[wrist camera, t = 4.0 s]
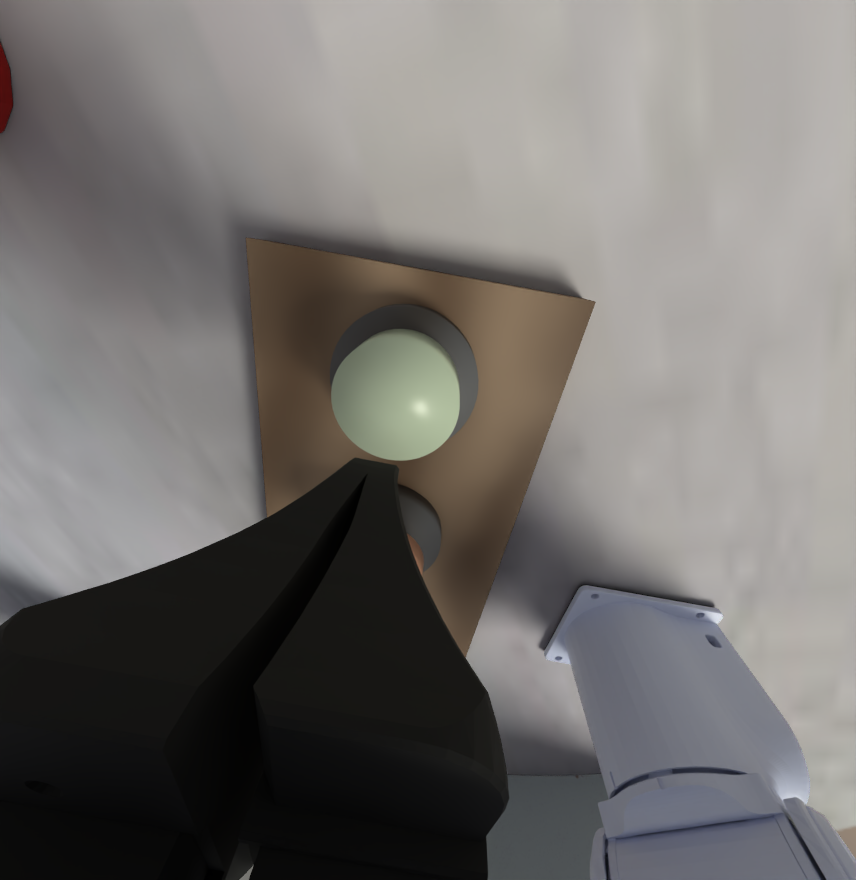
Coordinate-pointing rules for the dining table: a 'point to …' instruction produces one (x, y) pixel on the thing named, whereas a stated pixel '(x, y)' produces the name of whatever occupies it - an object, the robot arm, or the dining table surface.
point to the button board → (480, 383)
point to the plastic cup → (5, 91)
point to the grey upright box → (546, 828)
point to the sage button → (397, 395)
